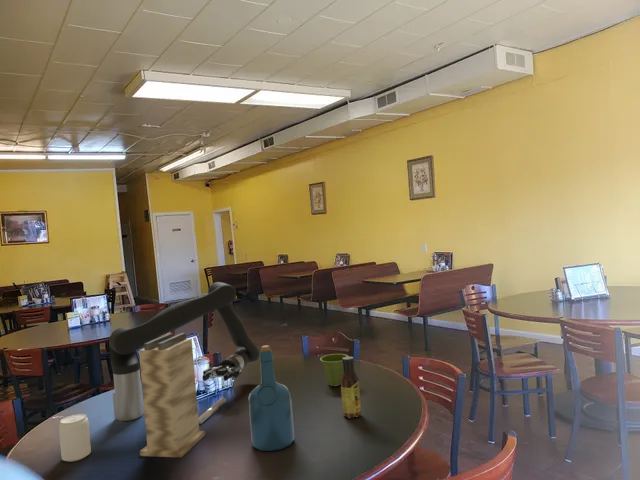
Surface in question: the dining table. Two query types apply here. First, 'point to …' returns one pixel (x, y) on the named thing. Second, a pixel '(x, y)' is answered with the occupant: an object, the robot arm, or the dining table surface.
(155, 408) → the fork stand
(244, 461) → the dining table surface
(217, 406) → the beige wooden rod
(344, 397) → the sauce bottle
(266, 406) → the wine bottle
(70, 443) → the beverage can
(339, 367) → the plant pot
